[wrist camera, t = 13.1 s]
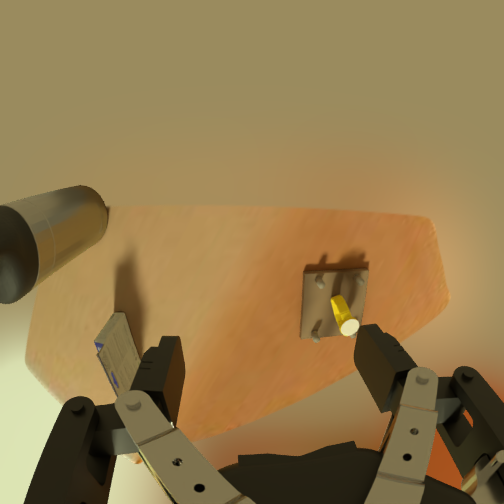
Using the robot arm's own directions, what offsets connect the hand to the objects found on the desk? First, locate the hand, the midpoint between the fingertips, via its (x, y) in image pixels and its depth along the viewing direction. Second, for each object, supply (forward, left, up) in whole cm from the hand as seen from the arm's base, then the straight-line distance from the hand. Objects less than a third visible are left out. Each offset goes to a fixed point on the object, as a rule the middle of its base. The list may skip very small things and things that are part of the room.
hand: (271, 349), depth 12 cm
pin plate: (+13, -13, -28) cm, 34 cm away
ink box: (-20, -19, -28) cm, 40 cm away
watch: (+13, -13, -27) cm, 33 cm away
